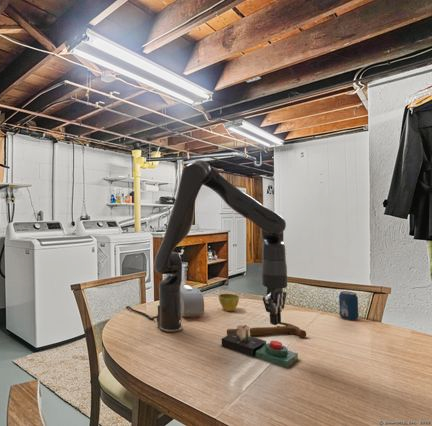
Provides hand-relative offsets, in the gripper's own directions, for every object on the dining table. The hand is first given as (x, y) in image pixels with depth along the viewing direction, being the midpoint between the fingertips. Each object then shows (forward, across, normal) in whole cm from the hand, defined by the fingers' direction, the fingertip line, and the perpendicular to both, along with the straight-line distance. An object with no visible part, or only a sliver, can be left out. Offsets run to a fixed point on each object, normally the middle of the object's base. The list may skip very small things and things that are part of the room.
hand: (275, 323), depth 103 cm
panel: (+12, 0, +12) cm, 17 cm away
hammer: (+12, +18, +13) cm, 25 cm away
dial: (+9, 0, +11) cm, 15 cm away
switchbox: (+12, 0, 0) cm, 12 cm away
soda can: (+12, +66, -5) cm, 67 cm away
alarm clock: (+12, +18, +49) cm, 54 cm away
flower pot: (+12, +38, +39) cm, 56 cm away
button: (+8, 0, 0) cm, 8 cm away
